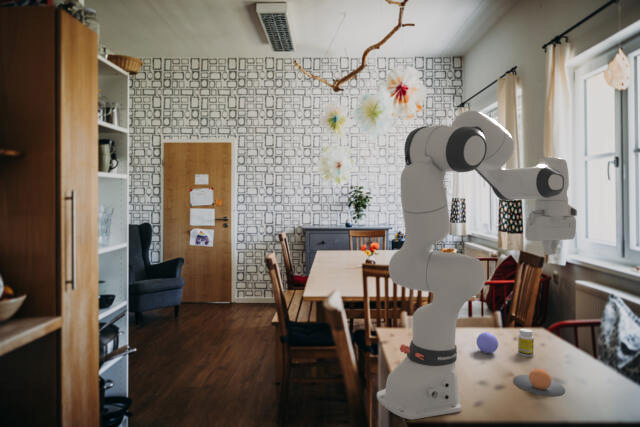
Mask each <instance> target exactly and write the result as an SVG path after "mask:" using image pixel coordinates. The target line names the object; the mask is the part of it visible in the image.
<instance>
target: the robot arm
mask: <svg viewBox="0 0 640 427" xmlns="http://www.w3.org/2000/svg"><path fill="white" fill-rule="evenodd" d="M514 150H515V141H514V138H513V136H512V134H511V133H510V132H509V131H508V130H507V129H505V127H504V126H502V125H501V124H500V123H498V122H497V121H496V120H495V119H493V118H491V117H489V116H488V115H486V114H484V113H482V112H480V111H478V110H473V109H472V110H471V109H469V110H466V111H464V112H462V113H460V114H459V115H457V117H456V118H455V119H454V120H453V121H452V124H451V125H449V126H448V125H443V124H442V125H432V126H426V125H425V126H420V127H418V128H415V129H413V130H411V131H410V132H409V134H408V135H407V137H406V139H405V143H404V149H403V151H404V162H405V164H406V166H405V167H404V168H403V170H402V171H401V174H400V175H401V176H400V200H401V208H402V215H403V220H404V231H405V236H404V240H403V241H404V242H403V244H402V246H401V247H400V249H398V251H396V252H394V254H393V255H392V256H391V258H390V260H389V262H388V263H389V264H388V273H389V274H388V275H389V277H390V279H391V281H392V283H394V284H396V285H398V286H400V287H402V288H406V289H408V290H414V291H419V292H426V293H427V292H429V293H432V294H433V298H432V301H431V302H430V303H426V304H424V305H422V306H419V307H418V308H417V309H416V310H415V311H414V313H413V314H412V336H411V337H412V340H410V343H409V346H408V345H405V344H401V345H400V346H399V351H400V352H401V353H404V354H406V357H405V358H404V359H403V360H402V361H401V362H400V363H399V364H398V365H397V366H395V368H394V369H392V370H391V372H389V374H388V375H387V378H386V384H385V388H384V389H381V390H379V391H377V392H376V399H377V401H378V402H379V403H380V404H381V405H382V406H383V407H384V408H385V409H387V410H388V411H390V412H391V413H393V414H394V415H396V416H399V417H400V418H403V419H407V420H418V419H419V420H420V419H424V418H430V417H436V416H441V415H448V414H454V413H460V412H461V411H462V404H461V400H462V398H461V395H460V391H459V385H458V384H459V383H458V375H457V370H456V361H457V356H458V351H457V349H458V348H457V345H456V332H457V331H456V329H457V320H458V316H459V313H460V311H461V310H462V307H463V306H464V305H465V304H466V303H467V302H468V301H469V300H470V299H472V298H473V297H475V296H476V295H478V294H479V293H480V292H481V291H482V290H483V288H484V286H485V284H486V279H487V273H486V269H485V267H484V264H483V263H482V262H481V260H480V259H479V258H478V257H474V256H472V255H471V256H470V255H467V254H464V253H459V252H458V253H456V252H444V251H436V250H434V248H433V246H434V245H436V244H437V243H438V244H439V243H440V242H441V241H443V240H445V239H446V238H447V237H448V235H449V233H450V232H451V223H450V222H451V220H450V214H449V206H448V198H447V193H446V188H445V185H444V180H445V177H446V176H445V175H446V173H447V172H456V173H467V172H468V173H469V172H471V171H472V172H473V171H475V172H476V173H477V174H478V175H479V176H480V177H481V178H482V179H483V180H484V181H485V182H486V183H487V184H488V186H490V188H491V189H492V191H493V193H494V194H495V196H496V197H497V198H499V200H501V201H511V200H512V201H513V200H535V205H534V209H533V210H532V211H531V212H530V213H529V215H528V218H527V220H526V224H525V225H526V226H525V235H524V236H525V239H526V240H527V241H531V242H541V244H542V246H543V248H544V255H545V256H554V255H555V256H556V254H557V248H558V246H559V244H560V243H559V242H560V241H561V240H562V241H564V240H574V239H575V237H576V233H577V231H576V230H577V220H576V217H577V216H578V210H577V209H576V208H574V207H573V206H571V205H570V204H569V197H568V190H569V186H570V184H569V182H570V181H569V179H570V178H569V176H570V175H569V168H568V163H567V160H566V159H564V158H562V157H558V156H545V157H542V158H540V159H538V162H537V164H536V165H534V166H531V167H530V166H529V167H519V168H504V167H503V166H504V165H506V164H507V163H508V162H509V160H510V159H511V157H512V155H513V153H514Z"/></svg>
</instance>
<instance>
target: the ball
mask: <svg viewBox="0 0 640 427" xmlns="http://www.w3.org/2000/svg"><path fill="white" fill-rule="evenodd" d="M528 375H529V380H530V383H531V384H532V385H533V386H534V387H535V388H537V389H540V390H545V389H547V388H549V387H550V385H551V380H552V376H551V375H550V374H549V372H547V370H544V369H543V368H534V369H532V370H531V371H530V373H529V374H528Z"/></svg>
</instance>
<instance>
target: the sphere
mask: <svg viewBox="0 0 640 427" xmlns="http://www.w3.org/2000/svg"><path fill="white" fill-rule="evenodd" d="M475 343H476V346H477V347H478V350H480V351H481V353H485V354H492V353H493V354H494V353H495V352H496V351H497V350H498V348H499V342H498V338H497V337H496V336H495V335H494V334H492V333H491V332H482V333H480V334H479V335H478V336H477V338H476V342H475Z"/></svg>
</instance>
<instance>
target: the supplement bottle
mask: <svg viewBox="0 0 640 427" xmlns="http://www.w3.org/2000/svg"><path fill="white" fill-rule="evenodd" d="M533 335H534V334H533V330H532V329H529V328H520V329H519V335H518V338H517V341H518V342H517V353H518V355H521V356H524V357H532V356H534V336H533Z"/></svg>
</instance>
